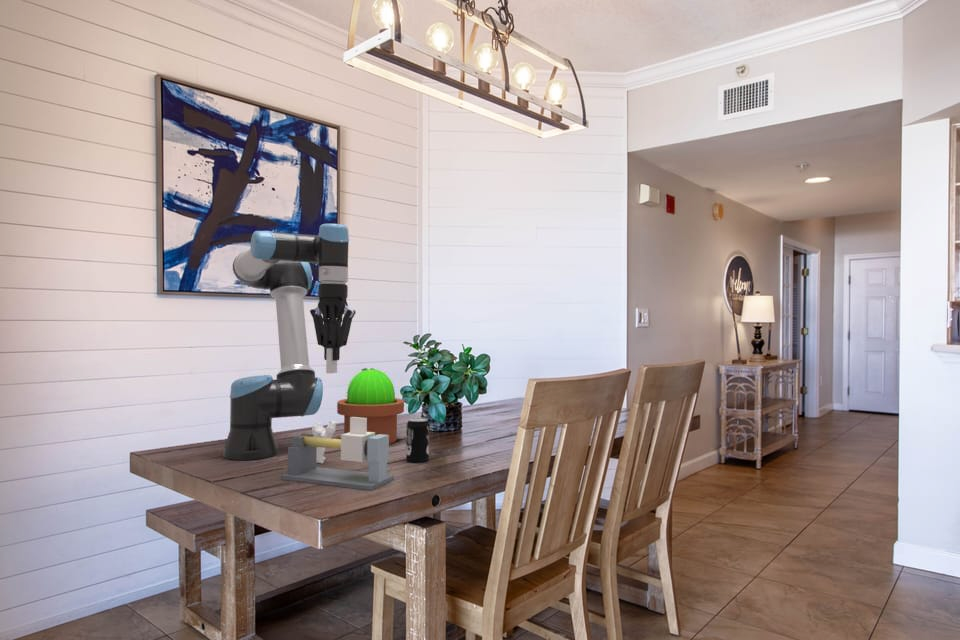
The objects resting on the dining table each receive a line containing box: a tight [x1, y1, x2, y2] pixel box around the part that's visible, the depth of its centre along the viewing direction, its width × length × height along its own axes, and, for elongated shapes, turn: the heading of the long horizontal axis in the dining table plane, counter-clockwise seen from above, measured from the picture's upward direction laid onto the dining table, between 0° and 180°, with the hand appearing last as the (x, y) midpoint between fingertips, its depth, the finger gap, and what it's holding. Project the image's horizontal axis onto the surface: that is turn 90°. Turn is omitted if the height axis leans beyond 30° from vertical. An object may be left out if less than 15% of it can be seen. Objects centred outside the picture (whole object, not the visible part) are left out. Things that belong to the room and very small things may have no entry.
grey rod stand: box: [281, 432, 395, 491], centre depth 155 cm, size 26×11×12 cm, turn 69°
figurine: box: [311, 419, 338, 464], centre depth 175 cm, size 10×5×12 cm, turn 52°
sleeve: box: [340, 417, 375, 463], centre depth 153 cm, size 6×6×10 cm
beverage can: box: [405, 417, 430, 464], centre depth 177 cm, size 7×7×12 cm
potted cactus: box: [336, 367, 405, 445], centre depth 204 cm, size 22×22×25 cm
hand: (331, 372), depth 160 cm, fingers closed
